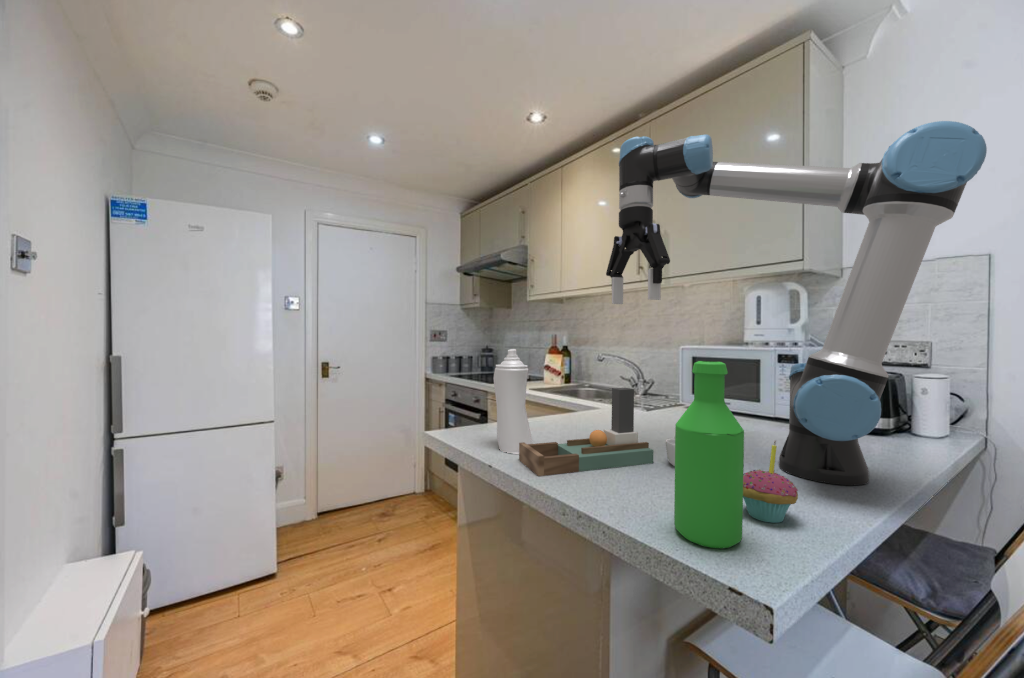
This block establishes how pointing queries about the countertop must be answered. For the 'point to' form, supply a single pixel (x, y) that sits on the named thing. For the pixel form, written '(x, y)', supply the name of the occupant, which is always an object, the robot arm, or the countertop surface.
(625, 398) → the block
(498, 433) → the spray can
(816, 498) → the countertop surface
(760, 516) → the cupcake
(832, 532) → the countertop surface
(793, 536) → the countertop surface
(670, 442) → the teacup
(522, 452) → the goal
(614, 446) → the rails
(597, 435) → the ball
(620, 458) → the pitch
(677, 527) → the bottle
